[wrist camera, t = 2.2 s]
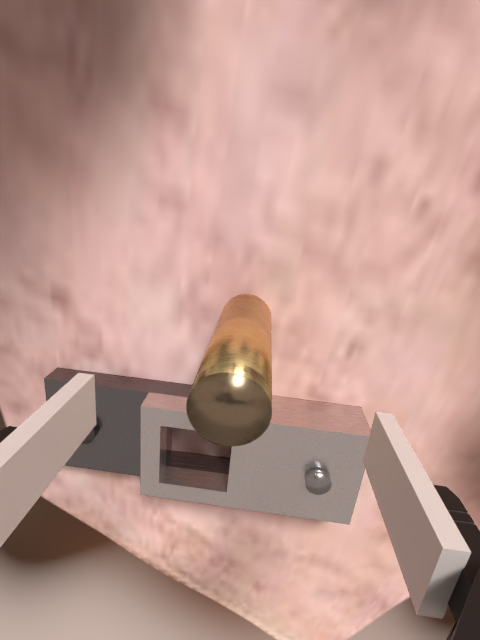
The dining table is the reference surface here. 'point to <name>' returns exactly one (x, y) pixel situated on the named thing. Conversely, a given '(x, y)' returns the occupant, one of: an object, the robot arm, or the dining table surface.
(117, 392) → the door bolt
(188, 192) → the dining table surface
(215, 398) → the pin
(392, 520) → the robot arm
